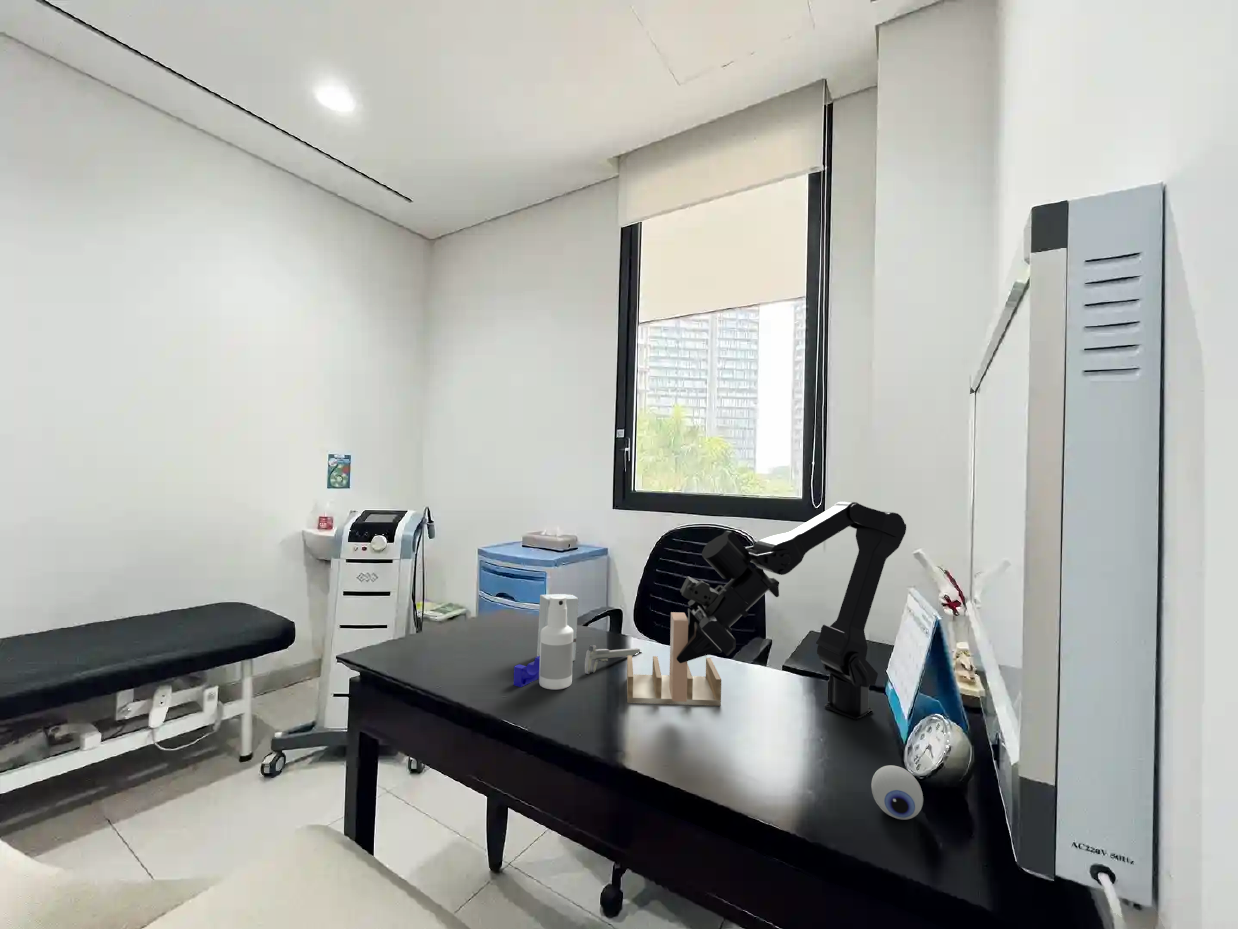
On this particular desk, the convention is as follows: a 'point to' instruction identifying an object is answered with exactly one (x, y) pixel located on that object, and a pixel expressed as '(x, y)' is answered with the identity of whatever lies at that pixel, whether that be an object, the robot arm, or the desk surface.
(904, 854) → the desk surface
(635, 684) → the rack
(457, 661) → the desk surface
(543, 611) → the skincare box
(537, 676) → the cable holder
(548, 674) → the spray bottle
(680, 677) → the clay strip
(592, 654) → the caliper
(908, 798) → the eyeball
